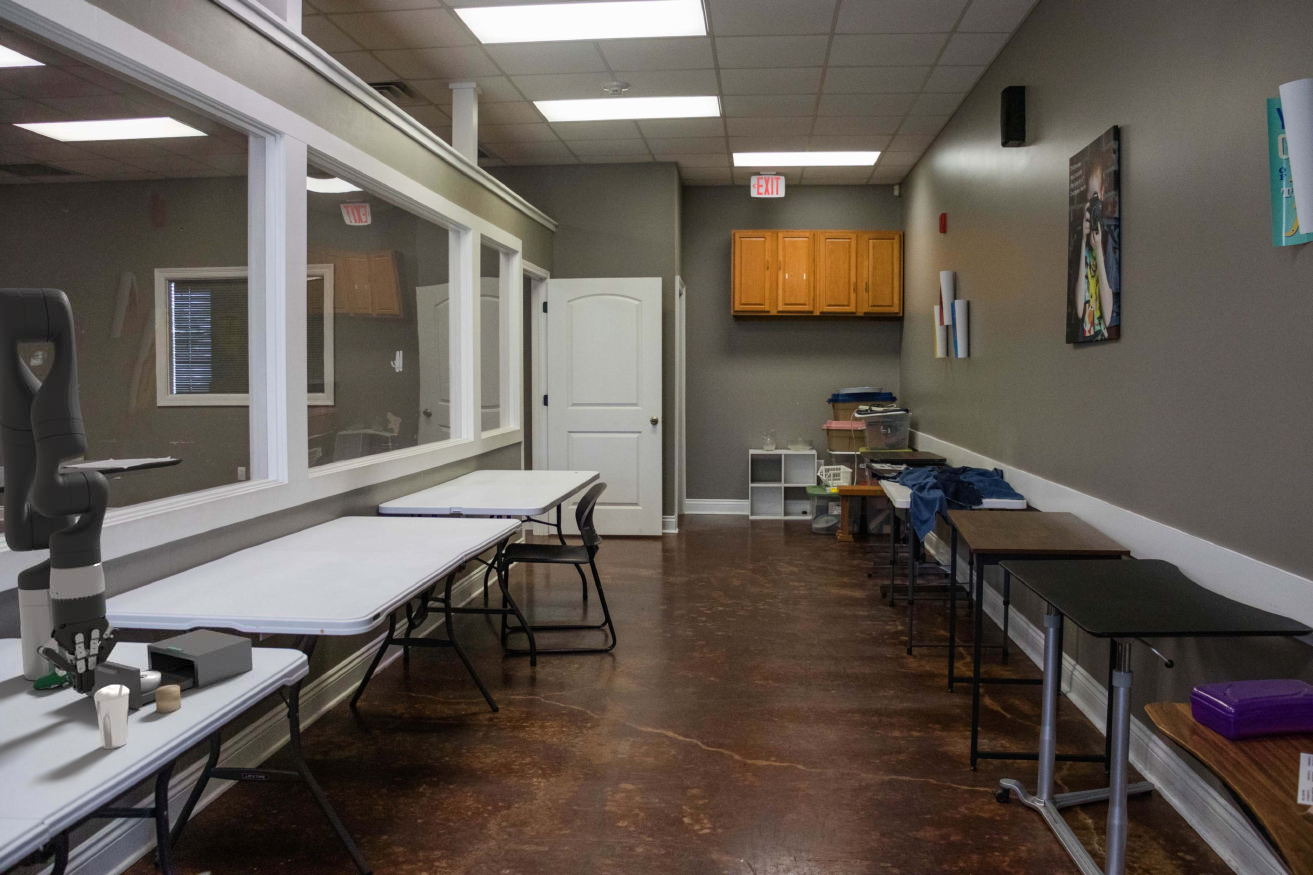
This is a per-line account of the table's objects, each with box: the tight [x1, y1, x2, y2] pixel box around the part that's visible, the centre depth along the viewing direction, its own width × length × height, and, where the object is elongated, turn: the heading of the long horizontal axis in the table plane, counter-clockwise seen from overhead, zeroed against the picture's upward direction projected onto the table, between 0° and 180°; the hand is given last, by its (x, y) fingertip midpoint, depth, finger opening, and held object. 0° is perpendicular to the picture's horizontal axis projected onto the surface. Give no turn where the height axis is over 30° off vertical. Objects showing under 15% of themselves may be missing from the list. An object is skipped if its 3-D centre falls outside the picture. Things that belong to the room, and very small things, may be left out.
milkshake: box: [93, 685, 129, 750], centre depth 129 cm, size 5×5×10 cm
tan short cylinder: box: [155, 685, 182, 714], centre depth 143 cm, size 4×4×4 cm
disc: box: [140, 670, 161, 693], centre depth 151 cm, size 6×6×2 cm
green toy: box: [32, 668, 72, 690], centre depth 156 cm, size 9×4×6 cm
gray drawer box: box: [146, 628, 253, 689], centre depth 160 cm, size 11×15×6 cm
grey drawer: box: [84, 660, 194, 710], centre depth 150 cm, size 11×15×7 cm
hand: (84, 691), depth 142 cm, fingers closed
